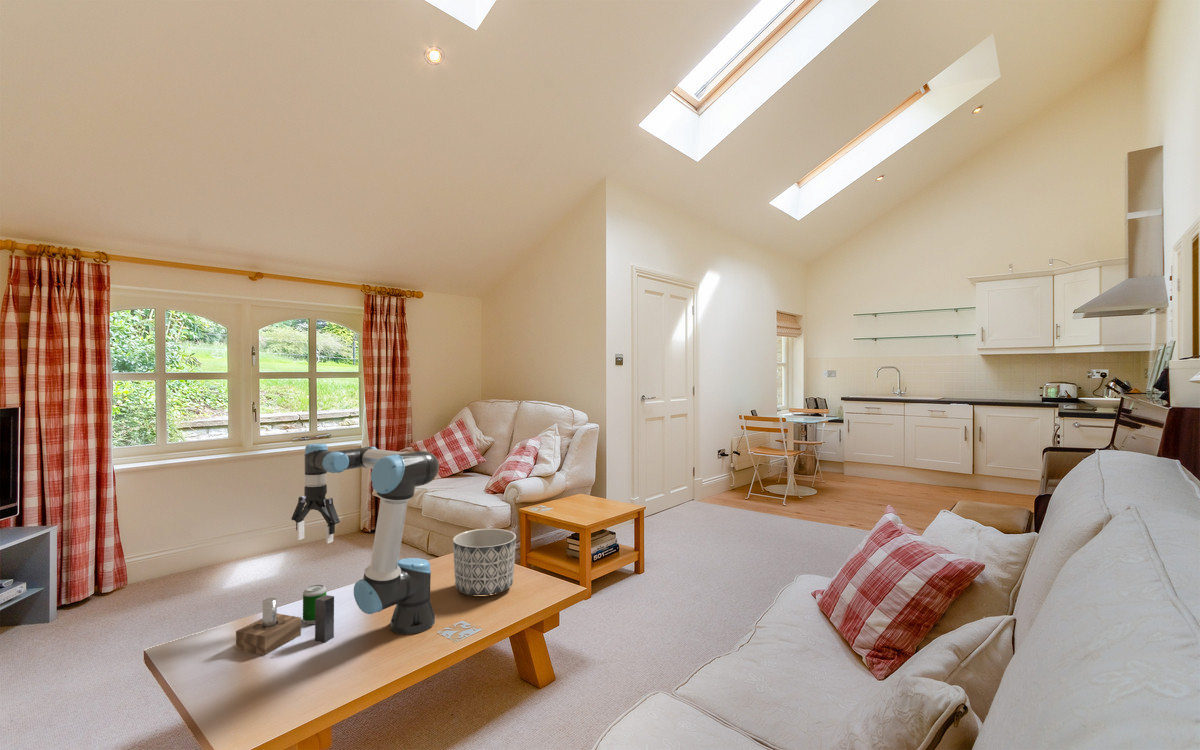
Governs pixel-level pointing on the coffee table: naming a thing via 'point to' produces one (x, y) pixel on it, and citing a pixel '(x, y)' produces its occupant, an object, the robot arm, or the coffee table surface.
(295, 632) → the bore block
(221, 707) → the coffee table surface
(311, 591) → the soda can
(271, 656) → the coffee table surface
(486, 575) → the planter
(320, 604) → the square bit
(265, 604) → the cylinder
